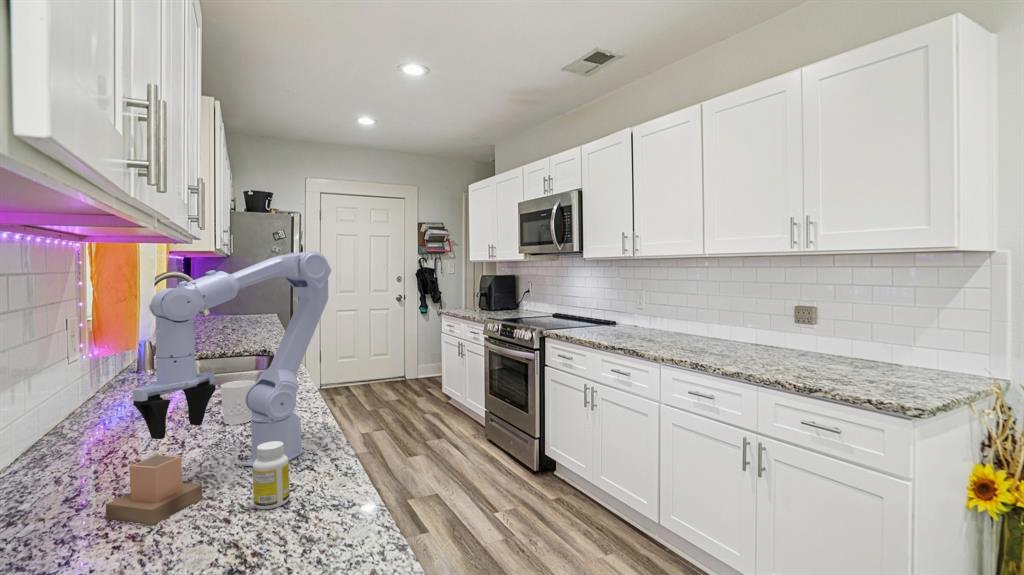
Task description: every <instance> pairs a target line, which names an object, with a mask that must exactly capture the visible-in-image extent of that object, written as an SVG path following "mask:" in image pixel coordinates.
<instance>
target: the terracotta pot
mask: <svg viewBox="0 0 1024 575" xmlns="http://www.w3.org/2000/svg"><path fill="white" fill-rule="evenodd" d="M182 472H183V471H182V456H175V455H164V454H155V455H154V456H150V457H148V458H146V459H143V460H141V461H138V462H136V463H134V464H131V465H129V483H130V484H129V487H130V492H129V493H131V500H137V501H147V502H158V501H160V500H162V499H164V498H166V497H168V496H170V495H172V494H174V493H176V492H177V491H179V490H181V489H182V483H183V481H182V480H183V479H182V478H183V477H182V476H183V475H182Z"/></svg>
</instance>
